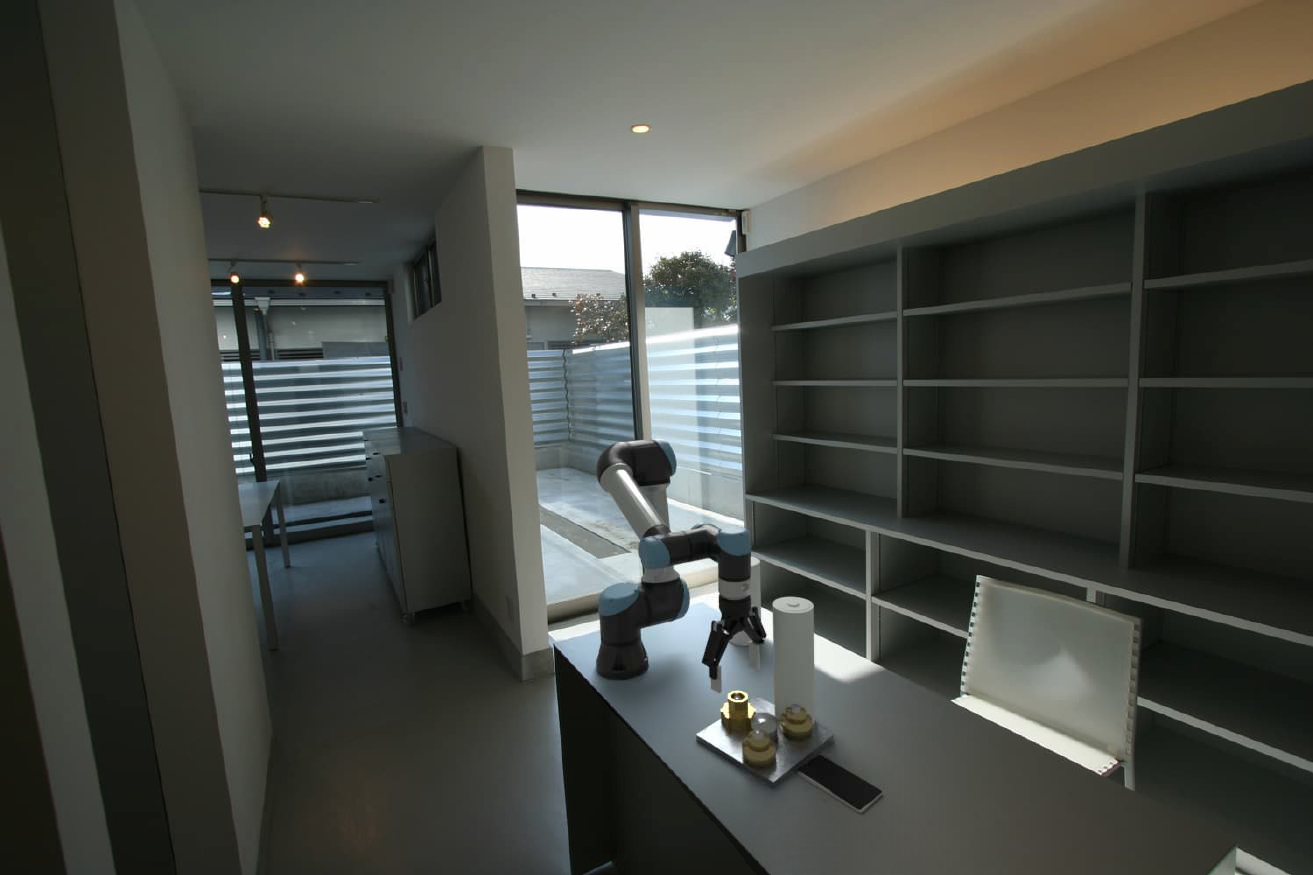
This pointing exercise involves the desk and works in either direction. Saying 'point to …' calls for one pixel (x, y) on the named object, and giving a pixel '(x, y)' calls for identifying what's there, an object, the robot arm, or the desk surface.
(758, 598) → the tall pillar cylinder
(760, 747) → the plate
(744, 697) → the gear
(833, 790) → the smartphone
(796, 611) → the cylinder container
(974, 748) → the desk surface
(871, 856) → the desk surface
